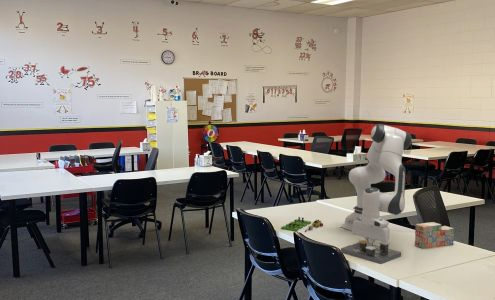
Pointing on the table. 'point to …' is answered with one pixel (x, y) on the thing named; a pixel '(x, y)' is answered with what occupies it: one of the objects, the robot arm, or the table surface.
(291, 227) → the toy garden set
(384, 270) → the table surface
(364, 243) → the breaker
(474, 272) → the table surface
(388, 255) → the panel
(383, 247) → the breaker far
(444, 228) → the stack of blocks
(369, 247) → the breaker near
